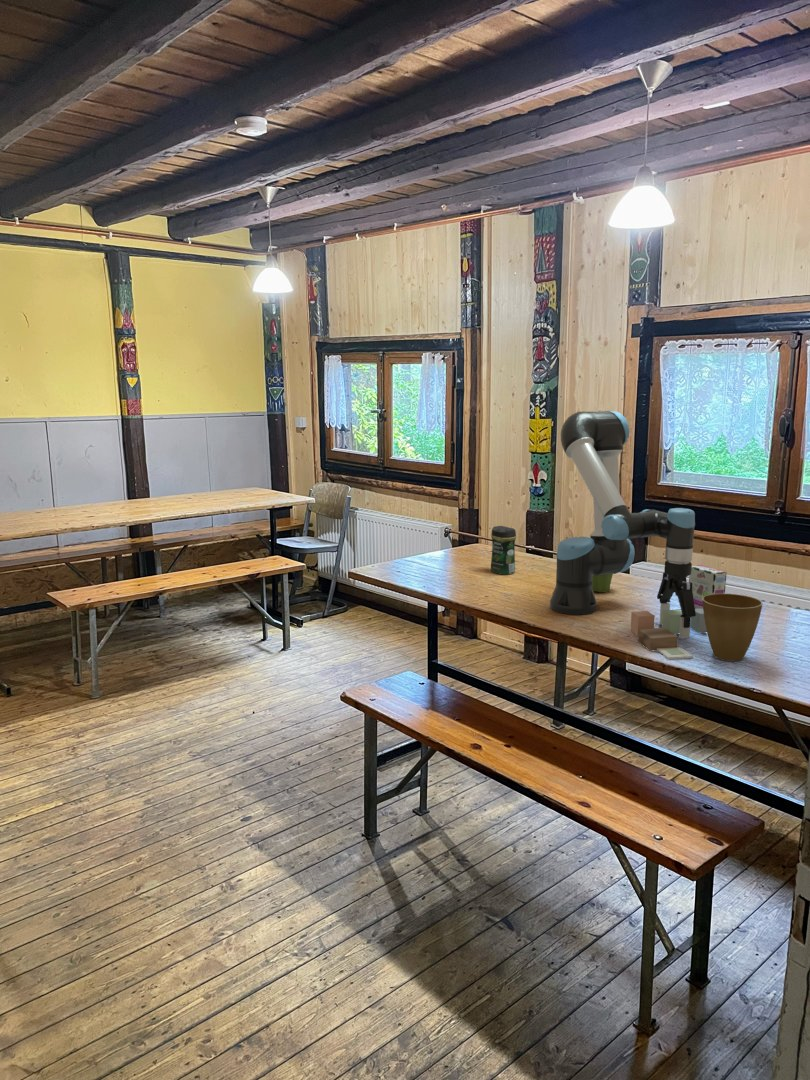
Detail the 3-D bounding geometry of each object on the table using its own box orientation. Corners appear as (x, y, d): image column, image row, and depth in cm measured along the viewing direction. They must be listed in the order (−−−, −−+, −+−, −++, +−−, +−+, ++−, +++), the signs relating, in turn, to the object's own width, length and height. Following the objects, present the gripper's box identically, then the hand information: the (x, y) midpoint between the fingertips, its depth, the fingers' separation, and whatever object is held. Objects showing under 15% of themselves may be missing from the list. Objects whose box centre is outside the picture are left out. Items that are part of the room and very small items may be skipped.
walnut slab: (637, 642, 218) (638, 629, 217) (663, 641, 219) (664, 627, 218) (650, 651, 210) (651, 638, 209) (677, 650, 211) (678, 636, 210)
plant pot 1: (601, 596, 265) (602, 565, 262) (575, 589, 274) (576, 559, 272) (623, 590, 271) (624, 560, 269) (597, 584, 281) (598, 554, 279)
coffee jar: (487, 571, 301) (487, 525, 298) (502, 568, 306) (502, 523, 302) (503, 576, 294) (504, 529, 290) (518, 573, 298) (519, 527, 294)
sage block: (662, 629, 229) (663, 610, 227) (677, 628, 229) (679, 609, 228) (669, 634, 224) (670, 615, 223) (685, 633, 224) (686, 614, 223)
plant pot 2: (756, 651, 209) (761, 595, 206) (758, 669, 195) (763, 610, 192) (699, 644, 215) (703, 590, 211) (696, 661, 201) (701, 604, 198)
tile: (656, 650, 210) (656, 647, 210) (680, 649, 211) (680, 646, 211) (668, 659, 203) (668, 656, 203) (692, 658, 204) (693, 655, 204)
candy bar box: (723, 623, 234) (727, 571, 230) (710, 625, 232) (714, 573, 229) (698, 613, 244) (701, 564, 241) (685, 615, 242) (689, 565, 239)
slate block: (690, 627, 230) (691, 609, 228) (705, 627, 230) (707, 608, 229) (698, 633, 225) (699, 613, 224) (714, 632, 225) (715, 613, 224)
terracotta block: (630, 630, 228) (631, 611, 226) (646, 629, 228) (647, 610, 227) (637, 635, 223) (638, 616, 222) (653, 635, 223) (654, 615, 222)
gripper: (711, 570, 211) (706, 643, 215) (671, 551, 235) (667, 617, 239) (686, 571, 210) (681, 644, 214) (648, 552, 234) (644, 618, 238)
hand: (673, 630), depth 226 cm, fingers open, 12 cm apart
